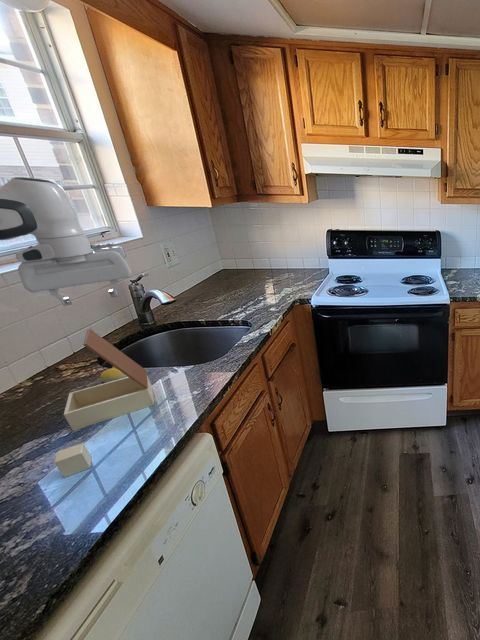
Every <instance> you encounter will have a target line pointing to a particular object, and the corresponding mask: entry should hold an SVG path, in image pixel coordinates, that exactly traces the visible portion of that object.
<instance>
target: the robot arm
mask: <svg viewBox="0 0 480 640" xmlns="http://www.w3.org/2000/svg"><path fill="white" fill-rule="evenodd" d="M27 235H33V236H34V238H35V240H36V242H37V244H32V245H30V246H28V247H27V248H26V247H25V248H24V249H23V248H22V249H21V250H19V251H17V252H16V253H15V259H16V260H17V261H18V262H20V264H19V265H18V267H17V272H18V275H19V278H20V281H21V283H22V285H23V288H24V289H25V290H26V291H28V292H30V293H39V292H44V291H48V292H49V294H50V295H51V296H53V297H54V298H56V299H57V300H59V301H60V302H61V305H62V306H64V307H65V306H70V305H72V301H71V299H70V297H69V296H63V295H62V294H60V293H59V291H60V289H65V288H71V287H76V286H82V285H83V286H84V285H90V284H96V283H97V284H98V283H103V282H110V284H111V285H112V286H113V287H112V289H109V290H108V293H109V296H110V298H116V297H119V293H118V291H117V289H118V286H119V281H118V280H121V279H122V280H123V279H129V278H131V276H132V274H133V273H132V270H131V268H130V265H129V264H128V262H127V260H126V257H127V254H126V252H125V249H124V248H123V247H122V246H121V245H119V244H116V243H113V242H108V243H101V244H99V243H98V244H91V243H90V241H89V238H88V236H87V234H86V232H85V230H84V229H83V228H82V227H81V224H80V223H79V217H78V214H77V211H76V209H75V207H74V205H73V203H72V201H71V199H70V198H69V196H68V194H67V192H66V191H65V189H64V188H63V187H62V186H61V185H60V184H58V183H57V182H55V181H53V180H50V179H45V178H36V177H28V176H27V177H25V176H14V177H11V178H10V179H9V181H7V182H6V183H4V184H2V185H1V186H0V241H10V240H14V239H16V238H20V237H22V236H23V237H25V236H27Z"/></svg>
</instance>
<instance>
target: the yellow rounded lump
mask: <svg viewBox="0 0 480 640" xmlns="http://www.w3.org/2000/svg"><path fill="white" fill-rule="evenodd" d="M126 377H128V376H127V375H125V374H124V373H122V372H121V371H119V370H118V369H117V368H115V367H114V366H112V367H111V368H107V369H105V370H103V371H102V372H101V373H100V375H99V379H100V381H101V382H102V383H103V384H104V383H107V382H111V381H115V380H118V379H122V378H126Z"/></svg>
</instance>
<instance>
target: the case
mask: <svg viewBox="0 0 480 640" xmlns="http://www.w3.org/2000/svg"><path fill="white" fill-rule="evenodd" d="M147 383H148V388H147V389H145V388H144V387H142V386H141V385H139V384H138V383H137V382H135V381H134V380H132V379H131V378H129V377H126V378H122V379H118V380H115V381H111V382H107V383H104V382H103V383H99V384H96V385H92V386H89V387H85V388H82V389H78V390H75V391H72V392H71V391H70V392H69V393H68V397H67V400H66V404H65V408H64V412H63V417H64V418H65V420H66V421H67V423H68V425H69V427H70V428H71V430H72V432H74V431H77V430H79V429H83V428H86V427H89V426H92V425H93V426H94V425H96V424H99V423H102V422H105V421H108V420H112V419H115V418H118V417H121V416H124V415H127V414H130V413H134V412H137V411H139V410H143V409H146V408H148V407H152V406H155V399H154V391H153V385H152V383H151V380H150V379H149V376H148V375H147Z"/></svg>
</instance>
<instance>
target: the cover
mask: <svg viewBox="0 0 480 640" xmlns="http://www.w3.org/2000/svg"><path fill="white" fill-rule="evenodd" d="M83 346H84V347H85V348H86V349H88V350H89V351H91V352H92V353H93V354H95V355H97V356H98V357H99V358H101V359H102V360H103V361H105V362H107V363H108V364H109V365H110V366H112V367H113V366H114V367H115V368H117V369H118V370H119V371H121V372H122V373H124V374H125V375H127V376H128V377H129V378H131V379H132V380H134V381H135V382H137V383H138V384H139V385H141V386H142V387H144V388H145V389H147V388H148V383H147V376H148V373H147V369H145V368H144V367H142V365H140V364H138V363H137V362H136V361H134V360H133V359H132V358H130V357H129V356H128V355H127V354H124V352H123V351H121V350H120V349H118V348H117V347H116V346H114V345H113V344H112V343H110V342H108V341H107V340H106V339H104V338H103V337H102V336H100V335H99V334H98V333H96V332H95V331H94V330H92V329H91V328H88V329H86V334H85V338H84V341H83Z"/></svg>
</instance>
